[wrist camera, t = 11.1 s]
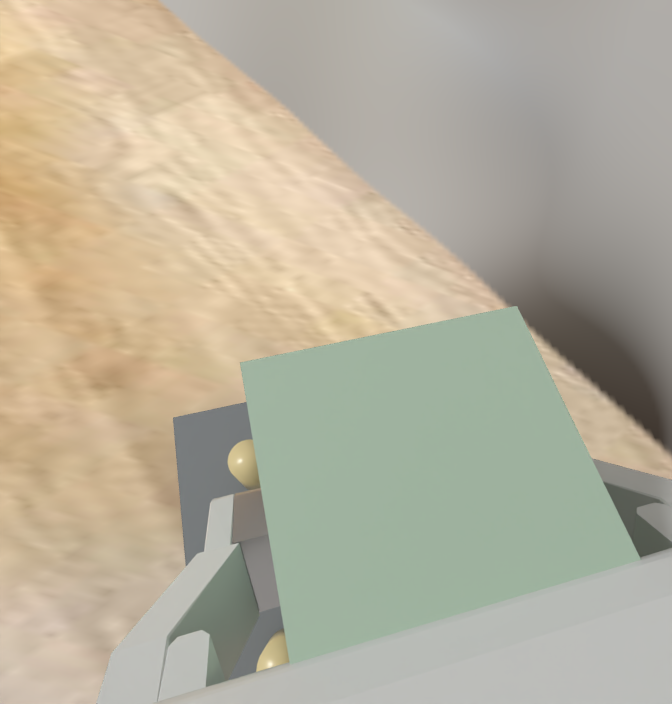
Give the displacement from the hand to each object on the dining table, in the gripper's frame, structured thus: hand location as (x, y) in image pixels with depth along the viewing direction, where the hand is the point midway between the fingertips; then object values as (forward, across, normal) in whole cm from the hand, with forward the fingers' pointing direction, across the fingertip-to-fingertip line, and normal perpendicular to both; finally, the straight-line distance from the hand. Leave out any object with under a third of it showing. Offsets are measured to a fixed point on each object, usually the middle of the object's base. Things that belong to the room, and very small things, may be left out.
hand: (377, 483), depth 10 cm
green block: (+3, 0, +4) cm, 5 cm away
